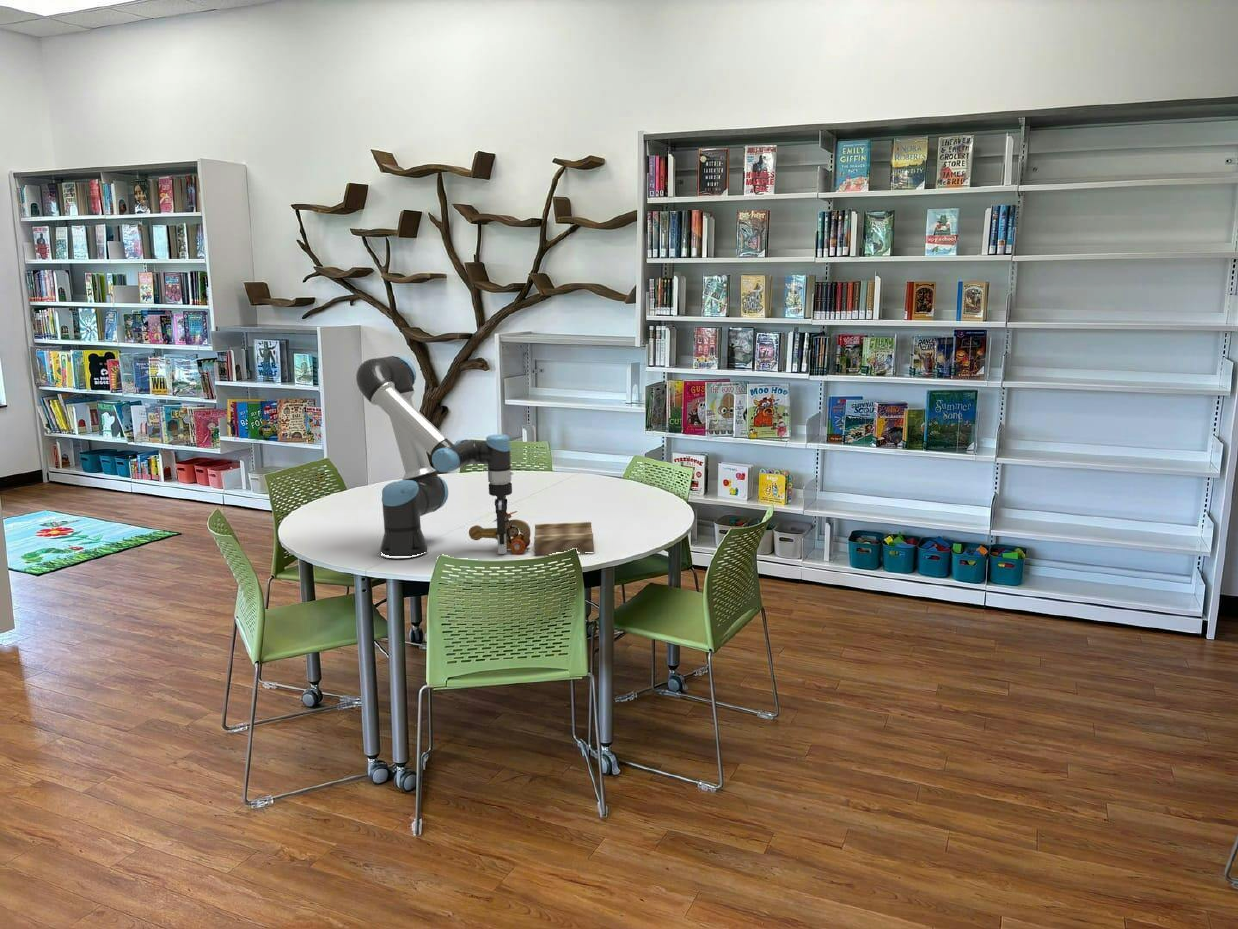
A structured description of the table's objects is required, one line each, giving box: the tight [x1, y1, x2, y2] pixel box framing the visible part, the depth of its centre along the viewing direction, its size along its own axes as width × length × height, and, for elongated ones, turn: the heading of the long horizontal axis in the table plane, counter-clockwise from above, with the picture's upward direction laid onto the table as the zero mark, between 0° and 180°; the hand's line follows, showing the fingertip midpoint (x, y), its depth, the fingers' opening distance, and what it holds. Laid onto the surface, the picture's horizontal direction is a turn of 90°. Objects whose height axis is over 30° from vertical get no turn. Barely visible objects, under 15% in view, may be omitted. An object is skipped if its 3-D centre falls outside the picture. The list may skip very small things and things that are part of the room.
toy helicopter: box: [468, 510, 532, 555], centre depth 308 cm, size 8×21×14 cm, turn 80°
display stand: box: [533, 521, 595, 557], centre depth 310 cm, size 19×16×6 cm
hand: (503, 549), depth 309 cm, fingers open, 9 cm apart
